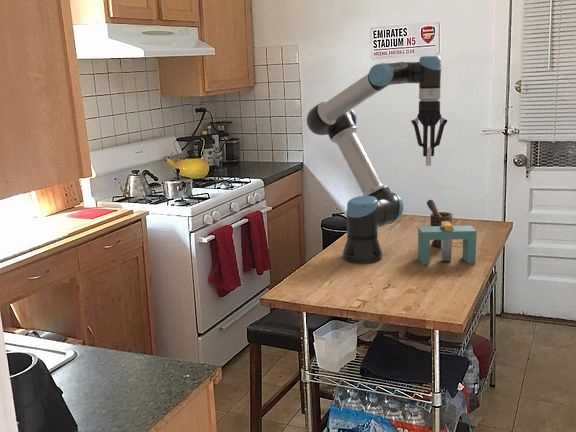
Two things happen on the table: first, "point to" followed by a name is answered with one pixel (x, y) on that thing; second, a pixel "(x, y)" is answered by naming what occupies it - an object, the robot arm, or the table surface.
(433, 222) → the mortar and pestle
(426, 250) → the teal slotted arch
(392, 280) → the table surface
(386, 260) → the table surface
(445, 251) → the golden orange block
